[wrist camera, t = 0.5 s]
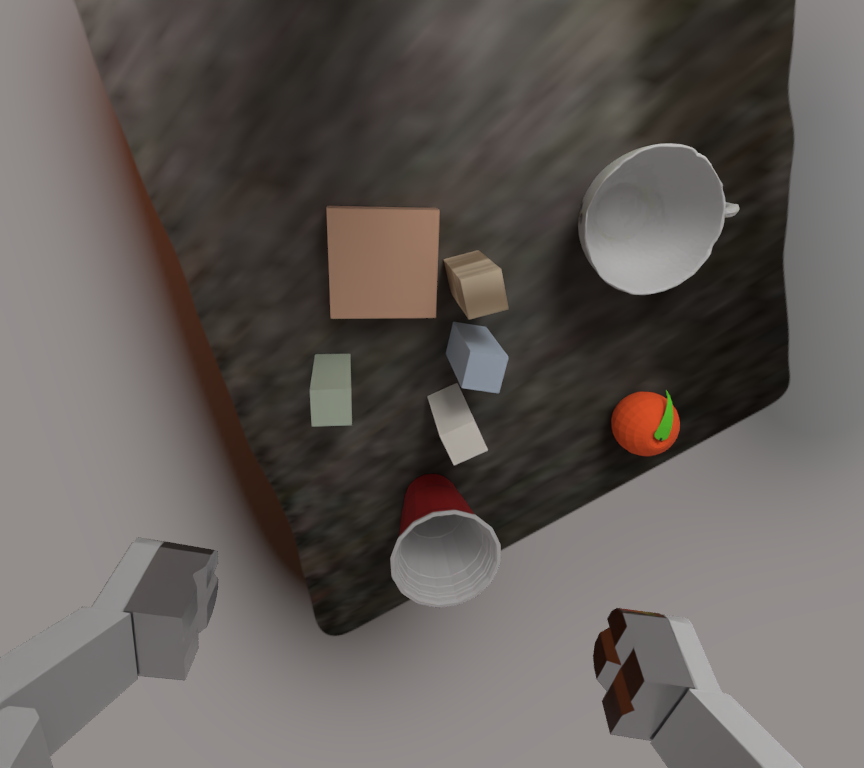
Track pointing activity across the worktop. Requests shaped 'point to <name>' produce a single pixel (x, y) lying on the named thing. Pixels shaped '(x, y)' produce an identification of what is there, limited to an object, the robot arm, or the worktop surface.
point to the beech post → (476, 284)
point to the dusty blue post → (476, 357)
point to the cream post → (456, 424)
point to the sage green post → (331, 390)
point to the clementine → (645, 423)
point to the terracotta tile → (382, 261)
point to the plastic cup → (442, 546)
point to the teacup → (652, 218)
